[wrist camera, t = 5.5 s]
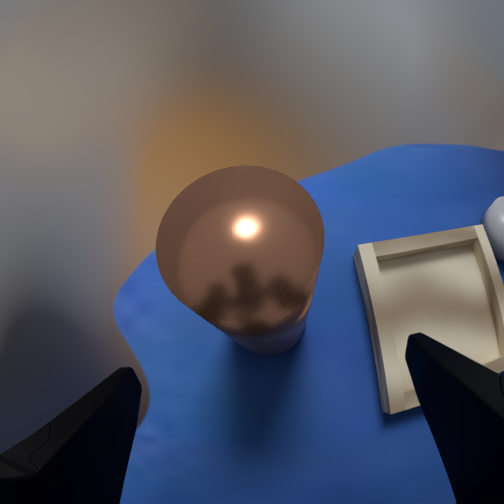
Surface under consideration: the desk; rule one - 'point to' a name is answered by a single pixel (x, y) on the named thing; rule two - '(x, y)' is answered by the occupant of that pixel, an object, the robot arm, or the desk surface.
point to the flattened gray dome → (495, 227)
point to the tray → (430, 303)
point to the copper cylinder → (244, 254)
